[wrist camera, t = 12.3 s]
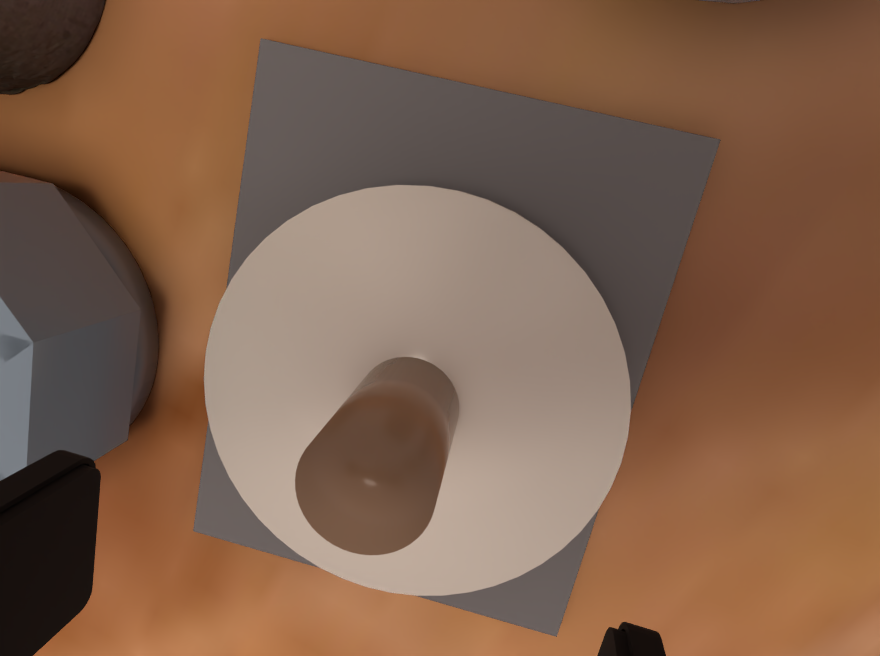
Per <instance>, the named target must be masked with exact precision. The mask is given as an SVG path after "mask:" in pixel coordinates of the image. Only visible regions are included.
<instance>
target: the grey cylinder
mask: <svg viewBox="0 0 880 656" xmlns="http://www.w3.org/2000/svg"><path fill="white" fill-rule="evenodd" d="M104 4H105V0H0V94H17V93H20V92H21V91H23V90H25V89H29V88H32V87H36V86H37V85H39V84H46V83H48V82H50V81H52V80H53V79H55V78H56V77H58V76H59V75H60V74H61V73H62V72H64V71H65V70H66V69H67V68H68V67H69V66H71V65H72V64H73V63H74V62H75V61H76V60H77V58H78V57H79V56H80V55H81V53H82V52H83V51H84V49H85V48H86V46H87V44H88V43H89V41H90V39H91V37H92V35H93V33H94V29H95V28H96V26H97V24H98V23H99V20H100V18H101V14H102V11H103V8H104Z"/></svg>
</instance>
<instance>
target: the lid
mask: <svg viewBox="0 0 880 656" xmlns="http://www.w3.org/2000/svg"><path fill="white" fill-rule="evenodd" d="M204 388H205V403H206V409H207V414H208V419H209V425H210V430H211V433H212V436H213V439H214V442H215V445H216V448H217V451H218V454H219V456H220V458H221V461H222V463H223V465H224V467H225V469H226V471H227V473H228V476H229V478H230V479H231V481H232V482H233V484H234V486H235V487H236V489H237V491H238V492H239V494H240V495H241V497H242V499H243V500H244V501H245V502H246V504H247V505H248V506H249V507H250V509H251V510H252V511H253V513H254V514H255V515H256V516H257V518H258V519H259V520H260V521H261V522H262V523H263V524H264V525H265V526H266V527H267V528H268V529H269V530H270V531H271V532H272V533H273V534H274V535H275V536H276V537H277V538H278V539H280V540H281V541H282V542H283V543H285V544H286V545H287V546H288V547H290V548H291V549H292V550H293V551H295V552H296V553H297V554H299V555H300V556H302V557H304V558H305V559H307V560H308V561H310V562H311V563H313V564H315V565H316V566H318V567H320V568H322V569H324V570H326V571H328V572H330V573H332V574H334V575H336V576H338V577H340V578H342V579H345V580H348V581H351V582H354V583H357V584H359V585H362V586H365V587H369V588H373V589H377V590H382V591H386V592H390V593H398V594H407V595H416V596H444V595H452V594H460V593H468V592H473V591H477V590H481V589H485V588H489V587H493V586H496V585H498V584H501V583H504V582H506V581H509V580H511V579H514V578H517V577H519V576H521V575H523V574H524V573H526V572H528V571H530V570H532V569H534V568H536V567H537V566H539V565H541V564H542V563H544V562H545V561H547V560H548V559H549V558H551V557H552V556H554V555H555V554H556V553H558V552H559V551H560V550H562V549H563V548H564V547H565V546H566V545H567V544H568V543H569V542H570V541H571V540H572V539H573V538H575V537H576V536H577V535H578V534H579V533H580V532H581V531H582V529H583V528H584V527H585V526H586V524H587V523H588V522H589V521H590V519H591V518H592V517H593V516H594V514H595V513H596V512H597V511H598V509H599V507H600V505H601V504H602V502H603V500H604V499H605V497H606V495H607V494H608V492H609V490H610V489H611V486H612V484H613V482H614V479H615V477H616V474H617V472H618V470H619V467H620V465H621V462H622V458H623V454H624V450H625V446H626V442H627V439H628V432H629V423H630V413H631V396H630V378H629V373H628V367H627V361H626V356H625V351H624V348H623V345H622V342H621V339H620V336H619V333H618V330H617V327H616V324H615V322H614V320H613V318H612V316H611V314H610V312H609V310H608V308H607V306H606V304H605V302H604V300H603V298H602V296H601V295H600V293H599V292H598V290H597V289H596V287H595V286H594V284H593V283H592V282H591V280H590V279H589V277H588V276H587V274H586V273H585V272H584V270H583V269H582V268H581V267H580V266H579V265H578V264H577V262H576V261H575V260H574V259H573V258H572V257H571V256H570V255H569V254H568V252H567V251H566V250H565V249H564V248H563V247H562V246H561V245H560V244H559V243H557V242H556V241H555V240H554V239H553V238H552V237H550V236H549V235H548V234H547V233H546V232H544V231H543V230H542V229H541V228H540V227H538V226H537V225H535V224H533V223H532V222H530V221H529V220H527V219H526V218H524V217H522V216H521V215H519V214H518V213H516V212H514V211H512V210H510V209H508V208H506V207H504V206H501V205H499V204H497V203H495V202H493V201H491V200H488V199H485V198H482V197H479V196H475V195H472V194H469V193H466V192H462V191H458V190H452V189H446V188H440V187H434V186H417V185H392V186H382V187H373V188H366V189H362V190H358V191H354V192H350V193H346V194H342V195H338V196H336V197H333V198H331V199H328V200H326V201H323V202H321V203H319V204H316V205H314V206H311V207H310V208H308V209H306V210H305V211H303V212H301V213H299V214H298V215H296V216H294V217H293V218H291V219H289V220H287V221H286V222H285V223H284V224H282V225H281V226H280V227H279V228H277V229H276V230H275V231H274V232H272V233H271V234H270V235H269V236H267V237H266V238H265V239H264V240H263V241H262V242H261V243H260V244H259V245H258V246H257V248H256V249H255V250H254V251H253V252H252V253H251V254H250V255H249V256H248V257H247V258H246V260H245V261H244V263H243V264H242V265H241V267H240V268H239V270H238V271H237V272H236V274H235V275H234V277H233V278H232V279H231V281H230V283H229V285H228V287H227V289H226V291H225V293H224V295H223V297H222V299H221V301H220V303H219V306H218V308H217V311H216V314H215V317H214V320H213V323H212V326H211V329H210V334H209V339H208V344H207V349H206V355H205V370H204Z"/></svg>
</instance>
